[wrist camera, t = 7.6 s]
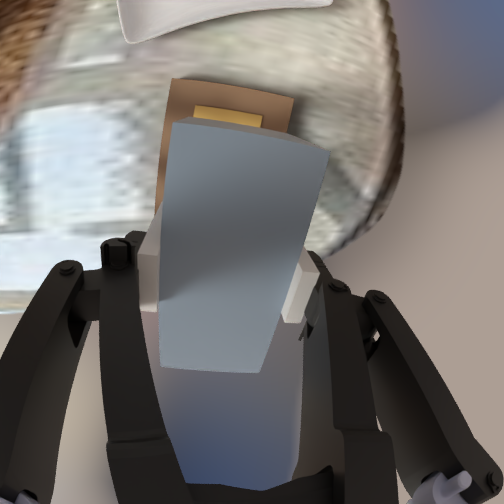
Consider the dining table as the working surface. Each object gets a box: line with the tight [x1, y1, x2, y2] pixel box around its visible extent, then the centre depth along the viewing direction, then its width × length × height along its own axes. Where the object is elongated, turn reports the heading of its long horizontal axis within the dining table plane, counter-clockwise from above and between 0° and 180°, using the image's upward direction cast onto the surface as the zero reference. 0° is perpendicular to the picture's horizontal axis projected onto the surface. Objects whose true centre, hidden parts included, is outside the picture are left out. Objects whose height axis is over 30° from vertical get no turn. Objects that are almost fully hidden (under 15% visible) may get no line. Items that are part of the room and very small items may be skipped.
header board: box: [154, 78, 294, 217], centre depth 26 cm, size 18×12×6 cm, turn 169°
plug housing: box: [159, 117, 331, 373], centre depth 14 cm, size 12×6×6 cm, turn 169°
